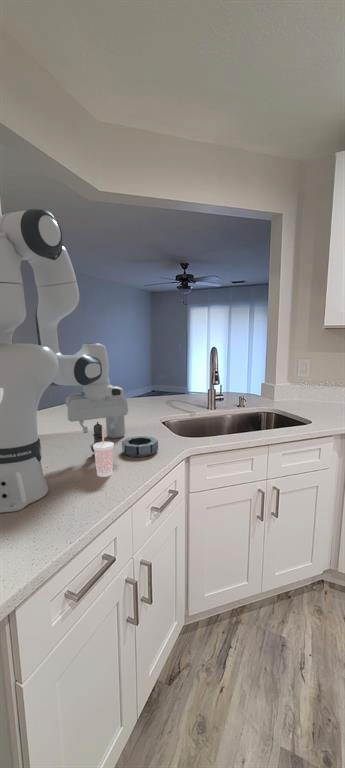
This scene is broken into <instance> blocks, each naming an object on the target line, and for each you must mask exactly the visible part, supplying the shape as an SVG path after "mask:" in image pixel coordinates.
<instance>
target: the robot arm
mask: <svg viewBox="0 0 345 768" xmlns="http://www.w3.org/2000/svg"><path fill="white" fill-rule="evenodd" d="M63 238H64V237H63V233H62V228H61V225H60V223H59V222H58V220H57V219H56V218H55V217H54V215H53V214H52V213H51V212H50V211H48V210H46V209H43V208H29V209H27V210H20V211H11V212H7V213H4V214H2V215H0V389H2V391H3V393H2V398H1V401H0V513H10V512H11V513H12V512H18V511H20V510H23V509H24V508H25V507H27V506H29V505H30V504H32V503H34V502H37V501H38V500H40V499H42V498H43V497H44V496H46V495H47V494H48V492H49V486H48V484H47V481H46V478H45V475H44V471H43V466H42V462H41V460H42V457H43V455H42V445H41V439H40V438H39V435H38V434H39V433H38V408H39V403H40V401H41V397H42V396H43V394H44V392H45V391H46V389H47V388H48V387H50V386H52V387H56V386H59V387H60V386H72V387H73V386H76V387H77V386H78V387H82V388H83V389H82V390H83V392H76V393H75V392H71V393H69V394H68V395H66V397H65V401H64V402H65V403H64V404H65V405H66V406H67V420H68V421H69V422H78V423H79V425H80V426H81V428H82V433H83V434H86V433H88V432H89V428H88V426H87V425H86V426H85V425H84V423H85V421H89V420H95V419H96V420H97V419H106V418H107V417H113V418H114V421H113V423H110V425H111V429H116V423H117V421H118V416H124V417H125V416H127V414H128V413H129V406H128V400H127V398H126V396H125V395H124V394H125V390H124V389H123V388H122V387H120V386H117V385H114V384H111V382H110V378H109V370H110V365H109V355H108V351H107V348H106V345H104V344H102V343H98V342H85V343H83V344H82V345H81V348H80V350H78V351H77V352H76V353H74V354H62V353H61V352H60V348H59V347H60V346H59V345H60V344H59V340H58V339H59V337H58V325H59V323H60V321H61V320H62V319H64V318H65V317H67V316H69V315H70V314H72V313H73V311H75V309H76V308H77V307H78V305H79V302H80V291H79V286H78V281H77V277H76V274H75V271H74V266H73V263H72V261H71V258H70V255H69V253H68V251H67V249H66V247H65V246H63V241H64V239H63ZM23 261H27V263H29V265H30V266H31V268H32V269H33V275H34V276H33V277H34V282H35V285H36V290H37V295H38V301H37V302H38V304H37V307H36V309H35V314H34V317H35V328H36V335H37V343H38V344H34V343H13V336H14V332H15V330H16V328H17V327H19V326H20V325H22V324H23V323H24V322H25V320H26V318H27V309H26V308H27V307H26V306H27V305H26V299H25V291H24V281H23V277H22V271H21V265H22V262H23Z"/></svg>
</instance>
